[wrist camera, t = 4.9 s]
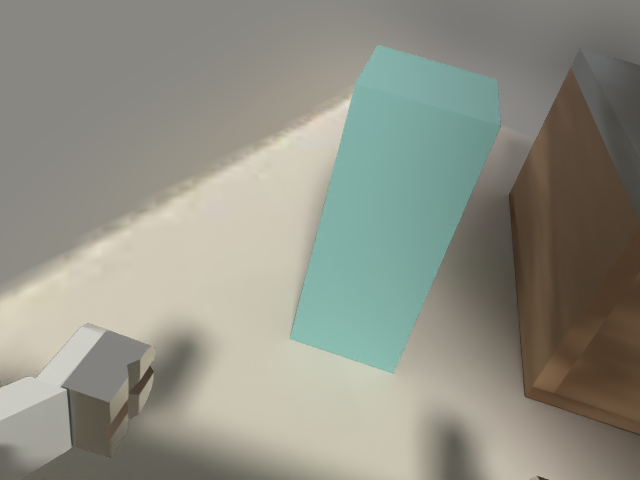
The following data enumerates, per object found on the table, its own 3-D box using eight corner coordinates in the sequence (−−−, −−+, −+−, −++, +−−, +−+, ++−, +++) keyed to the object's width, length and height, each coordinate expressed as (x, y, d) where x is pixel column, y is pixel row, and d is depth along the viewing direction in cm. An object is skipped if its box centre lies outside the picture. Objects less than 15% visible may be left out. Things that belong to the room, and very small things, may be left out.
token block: (405, 304, 24) (497, 79, 18) (393, 373, 21) (500, 125, 15) (315, 275, 24) (378, 44, 18) (289, 338, 21) (355, 82, 15)
